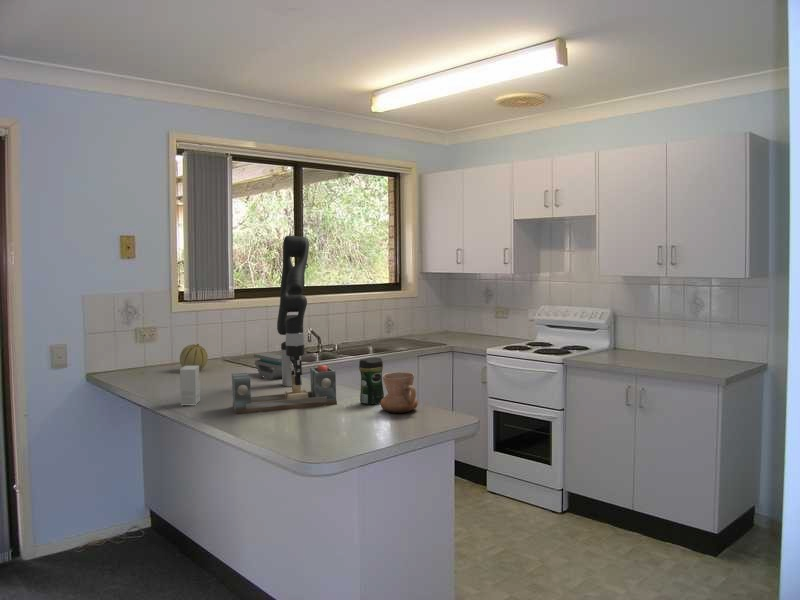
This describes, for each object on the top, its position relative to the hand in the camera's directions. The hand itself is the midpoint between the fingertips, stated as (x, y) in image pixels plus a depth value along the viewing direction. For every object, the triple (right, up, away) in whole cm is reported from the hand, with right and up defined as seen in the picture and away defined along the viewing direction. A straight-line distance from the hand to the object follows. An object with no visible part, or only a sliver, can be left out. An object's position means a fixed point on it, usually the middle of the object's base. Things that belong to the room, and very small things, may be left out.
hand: (296, 383), depth 260 cm
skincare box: (-45, -10, +5) cm, 46 cm away
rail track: (-4, -9, -1) cm, 10 cm away
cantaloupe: (-70, -5, +86) cm, 111 cm away
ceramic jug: (+43, -9, -15) cm, 46 cm away
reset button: (+10, +3, +3) cm, 11 cm away
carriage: (0, -7, 0) cm, 7 cm away
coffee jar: (+31, -8, 0) cm, 32 cm away
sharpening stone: (-22, -5, +65) cm, 69 cm away
